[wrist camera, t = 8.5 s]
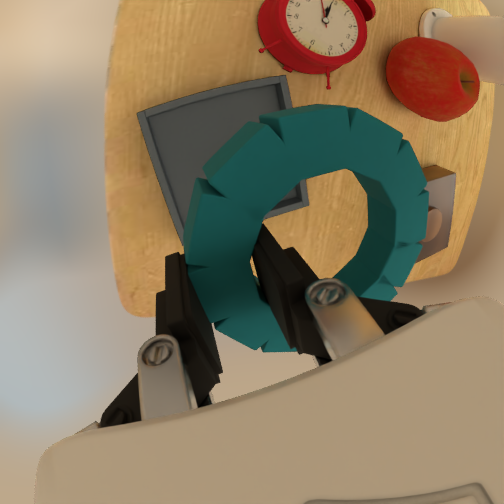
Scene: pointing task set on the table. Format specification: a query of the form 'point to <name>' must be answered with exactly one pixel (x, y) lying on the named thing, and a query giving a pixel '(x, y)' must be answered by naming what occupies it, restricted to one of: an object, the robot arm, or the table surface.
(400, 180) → the ring
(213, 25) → the table surface
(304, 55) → the alarm clock
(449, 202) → the platform
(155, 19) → the table surface
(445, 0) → the table surface
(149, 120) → the tray
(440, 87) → the apple
